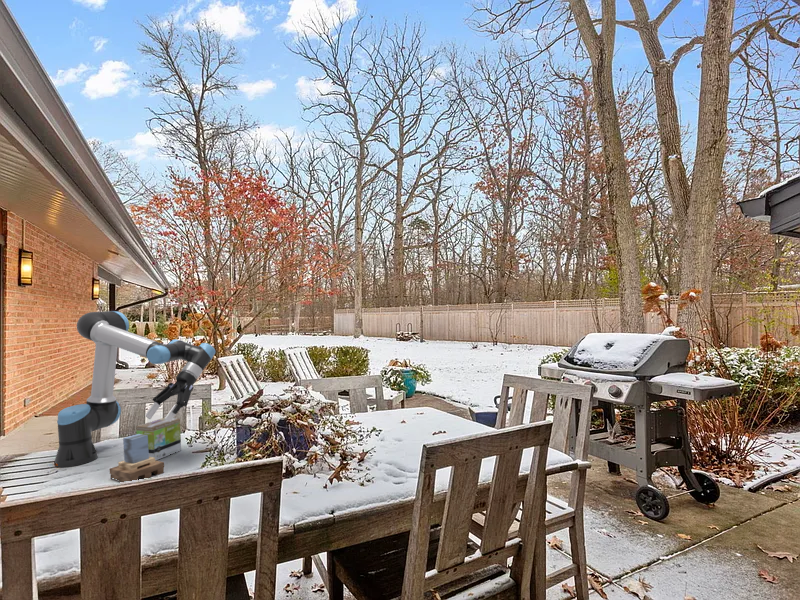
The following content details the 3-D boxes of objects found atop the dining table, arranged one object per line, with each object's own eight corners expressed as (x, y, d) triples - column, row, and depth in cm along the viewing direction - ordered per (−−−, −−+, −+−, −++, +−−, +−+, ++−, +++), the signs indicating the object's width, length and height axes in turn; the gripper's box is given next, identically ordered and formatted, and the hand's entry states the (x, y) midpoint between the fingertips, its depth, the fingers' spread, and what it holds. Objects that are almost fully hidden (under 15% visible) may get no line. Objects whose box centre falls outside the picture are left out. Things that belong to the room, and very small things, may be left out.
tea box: (155, 462, 194) (153, 426, 194) (136, 460, 197) (134, 426, 197) (182, 450, 208) (180, 417, 208) (164, 449, 211) (162, 416, 211)
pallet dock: (110, 479, 176) (109, 468, 176) (143, 467, 187) (143, 457, 187) (130, 484, 169) (130, 473, 169) (164, 472, 180) (163, 462, 180)
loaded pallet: (118, 467, 176) (116, 438, 177) (141, 460, 184) (140, 432, 184) (131, 470, 172) (130, 441, 172) (155, 462, 180) (153, 434, 180)
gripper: (213, 381, 195) (182, 426, 182) (177, 379, 207) (146, 421, 194) (201, 370, 190) (169, 416, 177) (165, 369, 203) (132, 411, 190)
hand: (157, 419), depth 186 cm, fingers open, 13 cm apart
